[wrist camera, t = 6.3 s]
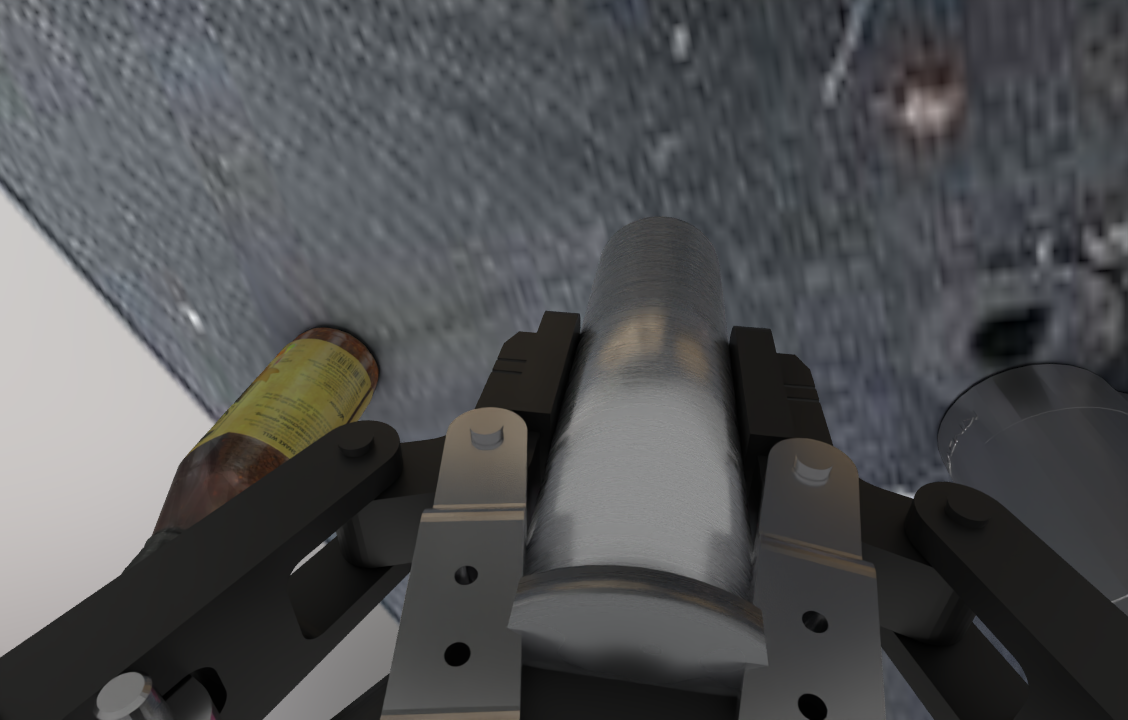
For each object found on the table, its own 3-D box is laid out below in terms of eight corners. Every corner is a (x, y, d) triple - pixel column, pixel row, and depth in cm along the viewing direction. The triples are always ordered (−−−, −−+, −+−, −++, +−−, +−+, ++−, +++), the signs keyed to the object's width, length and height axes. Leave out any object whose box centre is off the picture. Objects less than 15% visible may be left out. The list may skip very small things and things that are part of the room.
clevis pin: (751, 202, 16) (877, 653, 6) (727, 348, 18) (784, 854, 8) (581, 192, 16) (418, 589, 6) (578, 336, 18) (456, 795, 8)
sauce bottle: (287, 314, 41) (18, 567, 24) (382, 331, 40) (174, 600, 24) (299, 396, 44) (73, 664, 28) (386, 412, 44) (210, 694, 27)
